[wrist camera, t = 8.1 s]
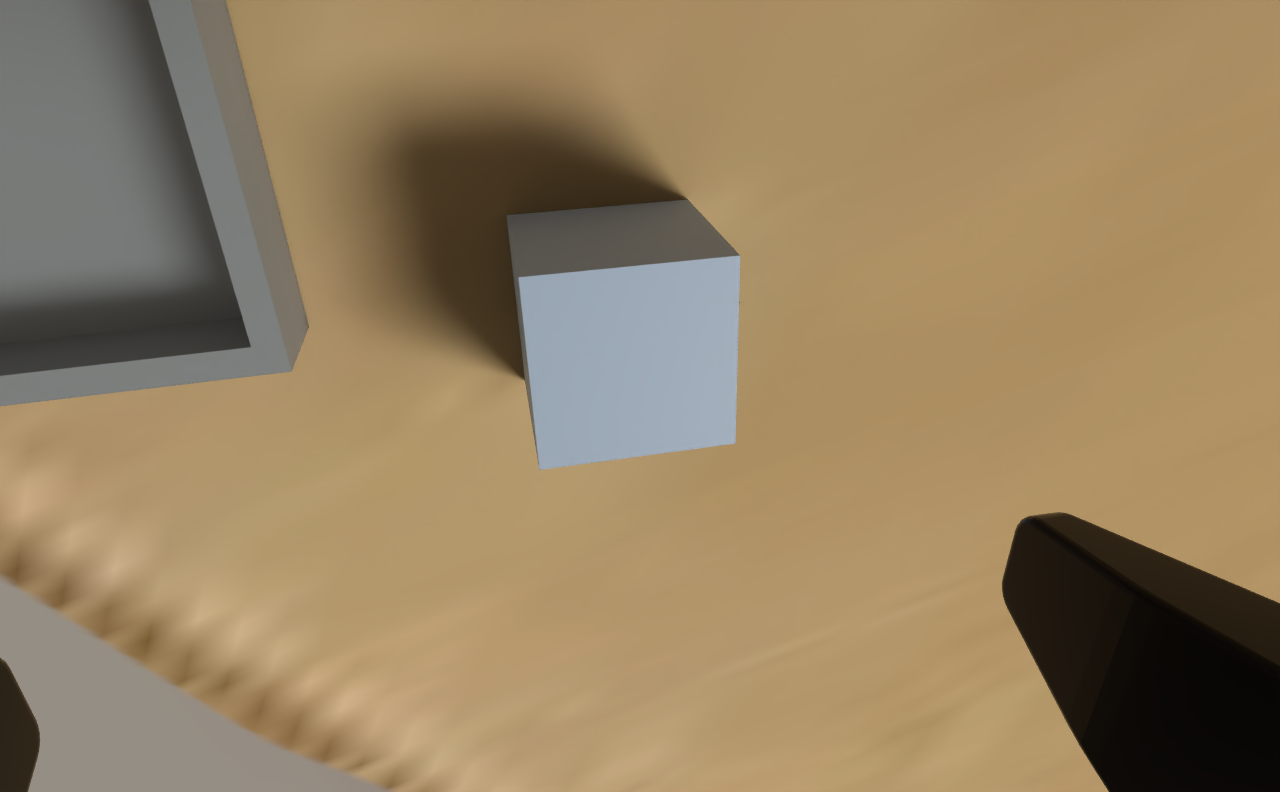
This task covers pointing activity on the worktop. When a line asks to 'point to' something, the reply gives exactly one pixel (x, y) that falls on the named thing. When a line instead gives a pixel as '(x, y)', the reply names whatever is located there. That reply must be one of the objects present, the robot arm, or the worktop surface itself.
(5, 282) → the tray
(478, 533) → the worktop surface
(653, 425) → the slate block
